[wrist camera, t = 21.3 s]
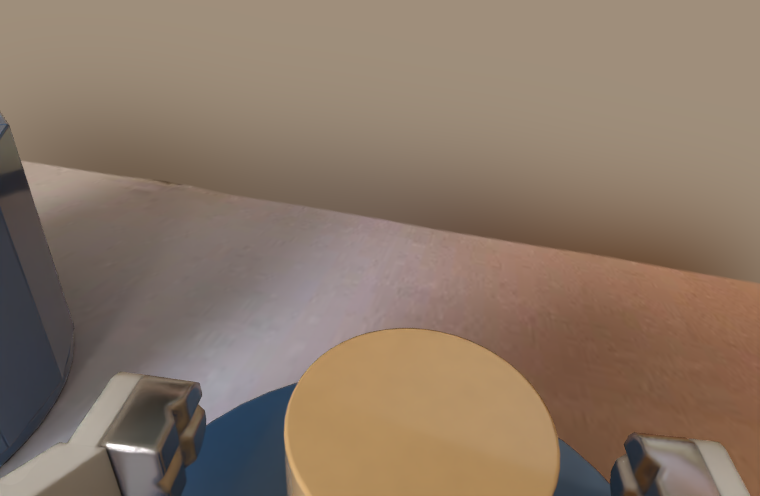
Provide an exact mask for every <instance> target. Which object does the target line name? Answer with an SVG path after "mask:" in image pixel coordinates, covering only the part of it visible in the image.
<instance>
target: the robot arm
mask: <svg viewBox="0 0 760 496" xmlns="http://www.w3.org/2000/svg"><path fill="white" fill-rule="evenodd" d="M201 397H202V391H201V387H200V383H198V382H192V381H185V380H178V379H171V378H164V377H157V376H150V375H142V374H135V373H127V372H119V373H117V374H116V375H115V376H113V377H112V378H111V380H110V381H109V382H108V384H107V385H106V387H105V388H104V390H103V391H102V393H101V394H100V396H99V397H98V399H97V400H96V402H95V403H94V405H93V406H92V407H91V409H90V410H89V412H88V413H87V415H86V416H85V418H84V419H83V421H82V422H81V424H80V425H79V427H78V428H77V430H76V431H75V432H74V434H73V435H72V437H71V438H70V440H69V441H68V443H62V442H59V443H57V444H56V445H54V446H52V447H51V448H49V449H48V450H46V451H44V452H43V453H41V454H40V455H38V456H36V457H35V458H33V459H31V460H30V461H28V462H27V463H25V464H23V465H22V466H20V467H18V468H17V469H15V470H14V471H12V472H10V473H9V474H7V475H5V476H4V477H2V478H1V479H0V496H181V495H182V492H183V490H184V488H185V486H186V483H187V477H186V472H185V468H186V467H188V466H189V465H190V464H192V463H193V462H194V461H196V460H197V457H198V455H199V452H200V450H201V447H202V444H203V440H204V435H205V431H206V415H205V410H204V409H203V408H202V407H201V406H199V405H198V403H199V401H200V399H201ZM624 447H625V450H626V453H627V454H625V455H624V456H622V457H620V458H618V459H616V461H615V463H614V466H613V468H612V470H611V479H610V490H611V496H750V494H749V492H748V490H747V488H746V486H745V484H744V483H743V481H742V479H741V477H740V475H739V473H738V471H737V469H736V468H735V466H734V464H733V462H732V460H731V458H730V456H729V454H728V453H727V451H726V449H725V447H724V446H723V445H721V444H720V443H719V442H715V441H706V440H698V439H687V438H685V437H675V436H665V435H656V434H646V433H636V432H634V433H632V434H630V435H629V436H628V438H627V439H626V441H625V443H624Z"/></svg>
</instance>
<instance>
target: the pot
mask: <svg viewBox="0 0 760 496" xmlns="http://www.w3.org/2000/svg"><path fill="white" fill-rule="evenodd" d="M73 331H74V325H73V322H72V319H71V315H70V312H69V309H68V306H67V303H66V300H65V297H64V294H63V291H62V287H61V284H60V281H59V278H58V275H57V272H56V269H55V266H54V263H53V260H52V256H51V253H50V250H49V247H48V244H47V241H46V238H45V235H44V232H43V229H42V225H41V222H40V219H39V216H38V213H37V210H36V207H35V204H34V201H33V197H32V194H31V191H30V188H29V185H28V182H27V179H26V176H25V173H24V170H23V166H22V163H21V160H20V157H19V154H18V151H17V148H16V145H15V142H14V138H13V135H12V133H11V129H10V126H9V124H8V123H7V121H6V120H5V118H4V117H3V115H2V114H1V112H0V467H1V466H2V465H3V464H4V463H5V462H6V461H7V460H8V459H9V458H10V457H11V456H12V455H13V454H14V453H15V452H16V451H17V450H18V449H19V448H20V447H21V446H22V445H23V444H24V443H25V442H26V441H27V439H28V438H29V437H30V436H31V435H32V434H33V432H34V431H35V430H36V429H37V428H38V426H39V425H40V424H41V423H42V421H43V420H44V419H45V417H46V416H47V414H48V413H49V411H50V410H51V408H52V407H53V405H54V404H55V402H56V401H57V399H58V397H59V395H60V393H61V391H62V389H63V387H64V385H65V383H66V380H67V377H68V374H69V371H70V368H71V365H72V360H73V352H74V339H73Z"/></svg>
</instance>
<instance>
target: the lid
mask: <svg viewBox="0 0 760 496" xmlns="http://www.w3.org/2000/svg"><path fill="white" fill-rule="evenodd" d="M185 472H186V477H187V483H186V486H185V488H184V490H183V492H182V495H181V496H611V490H610V483H609V482H608V481H607V480H606V479H605V478H604V477H603V476H602V475H601V474H600V473H599V472H598V471H597V470H596V469H595V468H594V467H593V466H592V465H591V464H590V463H589V462H587V461H586V460H585V459H584V458H583V457H582V456H581V455H580V454H578V453H577V452H576V451H575V450H574V449H573V448H572V447H571V446H569V445H568V444H567V443H565V442H564V441H562V440H561V439H560V438H558V436H557V432H556V429H555V425H554V422H553V420H552V417H551V415H550V413H549V411H548V408H547V407H546V405H545V403H544V402H543V400H542V398H541V397H540V395H539V394H538V392H537V391H536V390H535V389H534V387H533V386H532V385H531V383H530V382H529V381H528V380H527V379H526V378H525V377H524V376H523V375H522V374H521V373H520V372H519V371H518V370H517V369H515V368H514V367H513V366H512V365H511V364H509V363H508V362H507V361H505V360H504V359H503V358H501V357H500V356H498V355H497V354H495V353H493V352H492V351H490V350H488V349H486V348H485V347H483V346H481V345H478V344H476V343H474V342H472V341H470V340H467V339H464V338H461V337H458V336H455V335H452V334H448V333H444V332H440V331H434V330H428V329H417V328H395V329H385V330H379V331H374V332H369V333H366V334H362V335H359V336H356V337H353V338H351V339H349V340H346V341H344V342H342V343H340V344H338V345H337V346H335V347H333V348H331V349H330V350H329V351H327V352H326V353H324V354H323V355H322V356H320V357H319V358H318V359H317V360H316V361H315V362H314V363H313V364H312V365H311V366H310V367H309V368H308V369H307V371H306V372H305V373H304V374H303V376H302V377H301V378H300V380H299V382H298V383H294V384H291V385H288V386H285V387H283V388H280V389H277V390H274V391H271V392H268V393H266V394H263V395H261V396H259V397H257V398H254V399H252V400H250V401H248V402H246V403H243V404H241V405H239V406H238V407H236V408H234V409H232V410H231V411H229V412H227V413H225V414H224V415H222V416H220V417H218V418H217V419H215V420H213V421H212V422H210V423H209V424H208V425H206V431H205V435H204V440H203V444H202V447H201V450H200V452H199V455H198V457H197V460H196V461H194V462H193V463H192V464H190V465H189V466H188V467H186V468H185Z"/></svg>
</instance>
